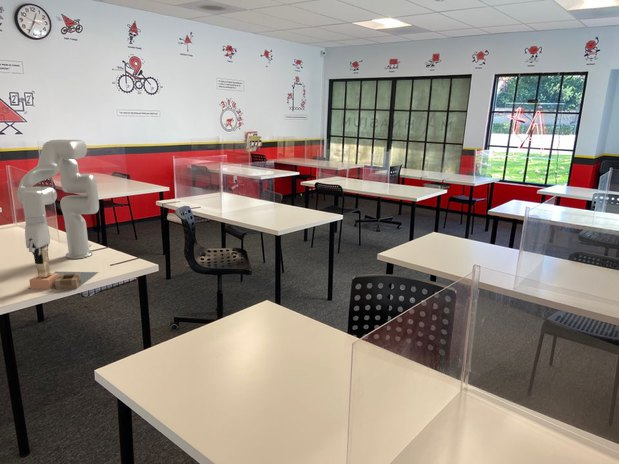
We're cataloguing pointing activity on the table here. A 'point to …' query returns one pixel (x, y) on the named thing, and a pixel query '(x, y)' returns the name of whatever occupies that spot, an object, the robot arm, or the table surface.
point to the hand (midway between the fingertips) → (42, 261)
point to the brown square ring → (68, 281)
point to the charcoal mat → (84, 277)
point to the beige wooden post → (43, 268)
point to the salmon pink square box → (43, 281)
